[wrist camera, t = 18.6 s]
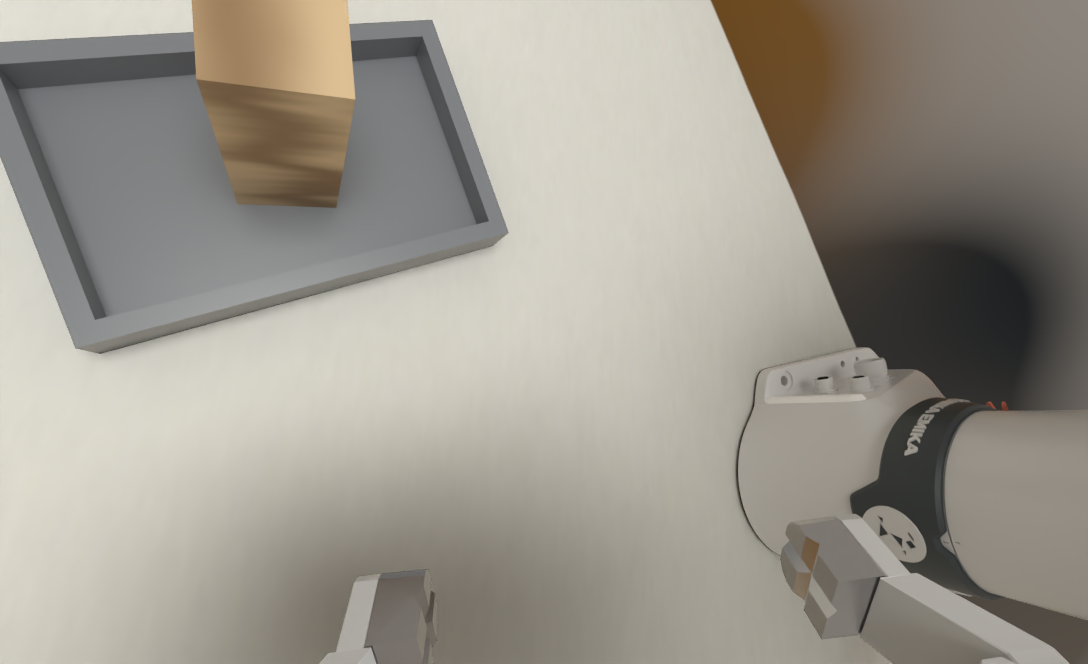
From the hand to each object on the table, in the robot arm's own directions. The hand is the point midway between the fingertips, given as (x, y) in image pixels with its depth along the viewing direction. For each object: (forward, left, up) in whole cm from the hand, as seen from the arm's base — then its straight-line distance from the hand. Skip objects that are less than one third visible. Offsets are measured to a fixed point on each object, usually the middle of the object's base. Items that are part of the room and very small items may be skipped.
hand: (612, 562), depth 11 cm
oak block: (+1, -19, -21) cm, 28 cm away
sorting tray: (+1, -18, -22) cm, 29 cm away
